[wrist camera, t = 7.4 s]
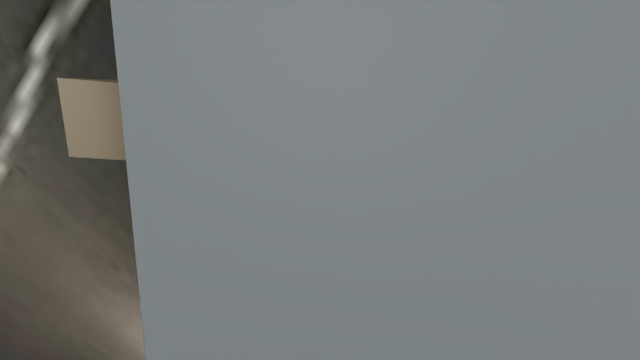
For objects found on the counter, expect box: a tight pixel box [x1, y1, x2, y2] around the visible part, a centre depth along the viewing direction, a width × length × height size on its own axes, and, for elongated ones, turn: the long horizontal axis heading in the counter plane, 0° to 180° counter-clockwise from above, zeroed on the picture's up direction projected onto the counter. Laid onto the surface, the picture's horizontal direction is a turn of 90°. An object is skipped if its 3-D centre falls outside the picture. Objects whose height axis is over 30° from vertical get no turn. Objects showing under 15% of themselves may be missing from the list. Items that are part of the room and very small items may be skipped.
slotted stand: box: [57, 78, 126, 160], centre depth 18 cm, size 20×6×12 cm, turn 85°
